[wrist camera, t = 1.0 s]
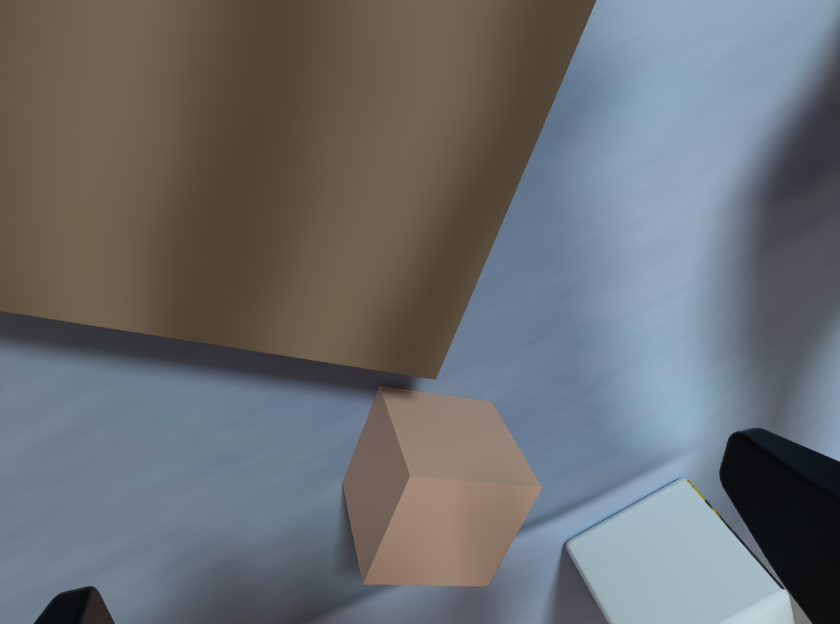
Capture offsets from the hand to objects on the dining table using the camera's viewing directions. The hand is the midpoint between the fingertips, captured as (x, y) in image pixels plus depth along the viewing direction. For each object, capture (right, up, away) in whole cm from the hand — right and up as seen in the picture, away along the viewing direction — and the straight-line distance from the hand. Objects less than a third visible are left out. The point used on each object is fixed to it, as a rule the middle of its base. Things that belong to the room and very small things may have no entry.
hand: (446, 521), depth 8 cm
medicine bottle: (+11, -9, +25) cm, 29 cm away
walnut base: (-5, +9, +9) cm, 14 cm away
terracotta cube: (0, -2, +17) cm, 17 cm away
